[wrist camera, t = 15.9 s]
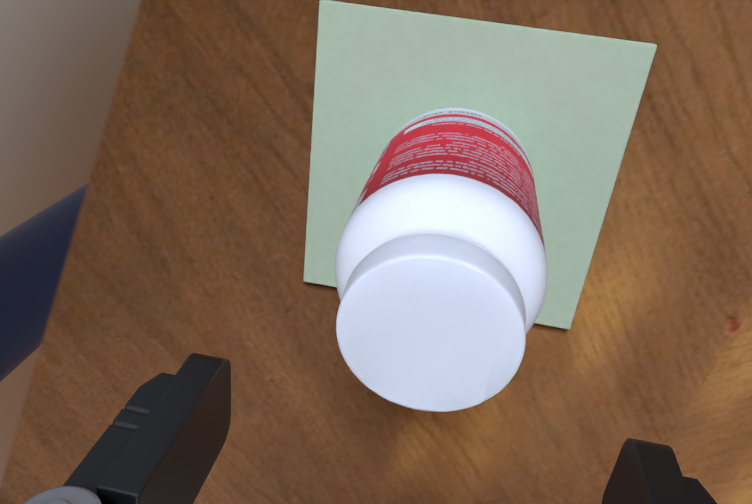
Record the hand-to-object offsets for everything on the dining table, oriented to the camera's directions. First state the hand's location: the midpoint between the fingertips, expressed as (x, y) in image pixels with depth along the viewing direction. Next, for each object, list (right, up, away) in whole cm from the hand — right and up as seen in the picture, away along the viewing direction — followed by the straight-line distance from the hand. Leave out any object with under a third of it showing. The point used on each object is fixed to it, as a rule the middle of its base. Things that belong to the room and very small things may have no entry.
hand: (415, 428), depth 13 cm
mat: (+2, +7, +13) cm, 14 cm away
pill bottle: (+2, +7, +12) cm, 14 cm away
